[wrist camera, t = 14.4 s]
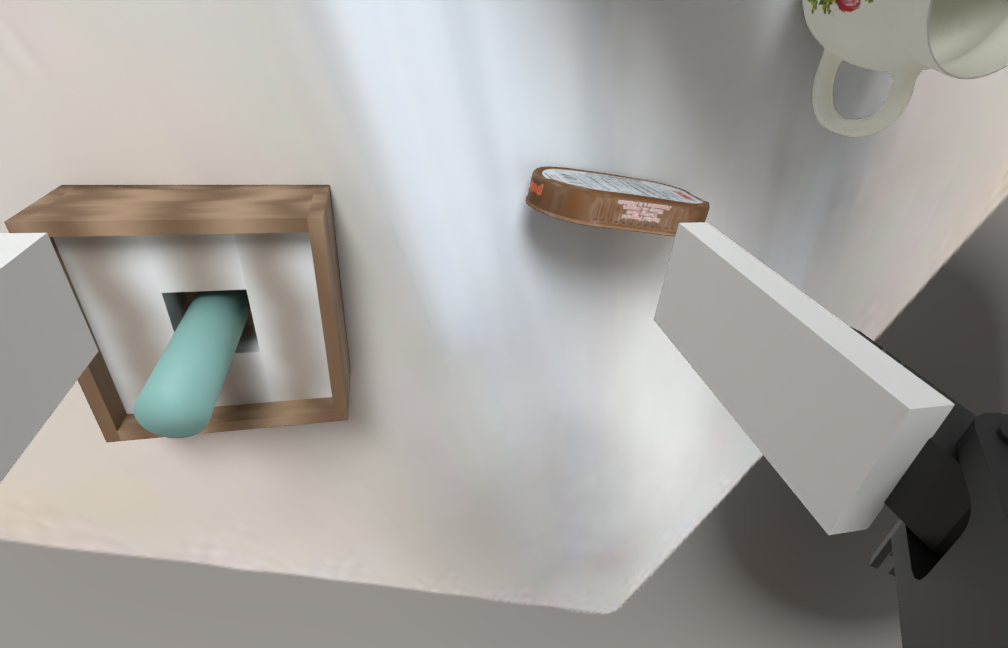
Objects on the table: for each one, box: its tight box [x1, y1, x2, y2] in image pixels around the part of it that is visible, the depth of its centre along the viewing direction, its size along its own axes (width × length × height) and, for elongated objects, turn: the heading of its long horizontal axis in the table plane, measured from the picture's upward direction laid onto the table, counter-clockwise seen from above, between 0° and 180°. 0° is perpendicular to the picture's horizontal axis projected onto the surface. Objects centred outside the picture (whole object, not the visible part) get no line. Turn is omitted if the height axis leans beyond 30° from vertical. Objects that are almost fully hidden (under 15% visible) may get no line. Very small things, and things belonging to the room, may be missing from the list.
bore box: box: [4, 185, 350, 442], centre depth 40 cm, size 18×18×7 cm
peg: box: [133, 290, 251, 438], centre depth 37 cm, size 4×4×14 cm
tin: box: [526, 167, 710, 236], centre depth 42 cm, size 15×3×8 cm, turn 79°
